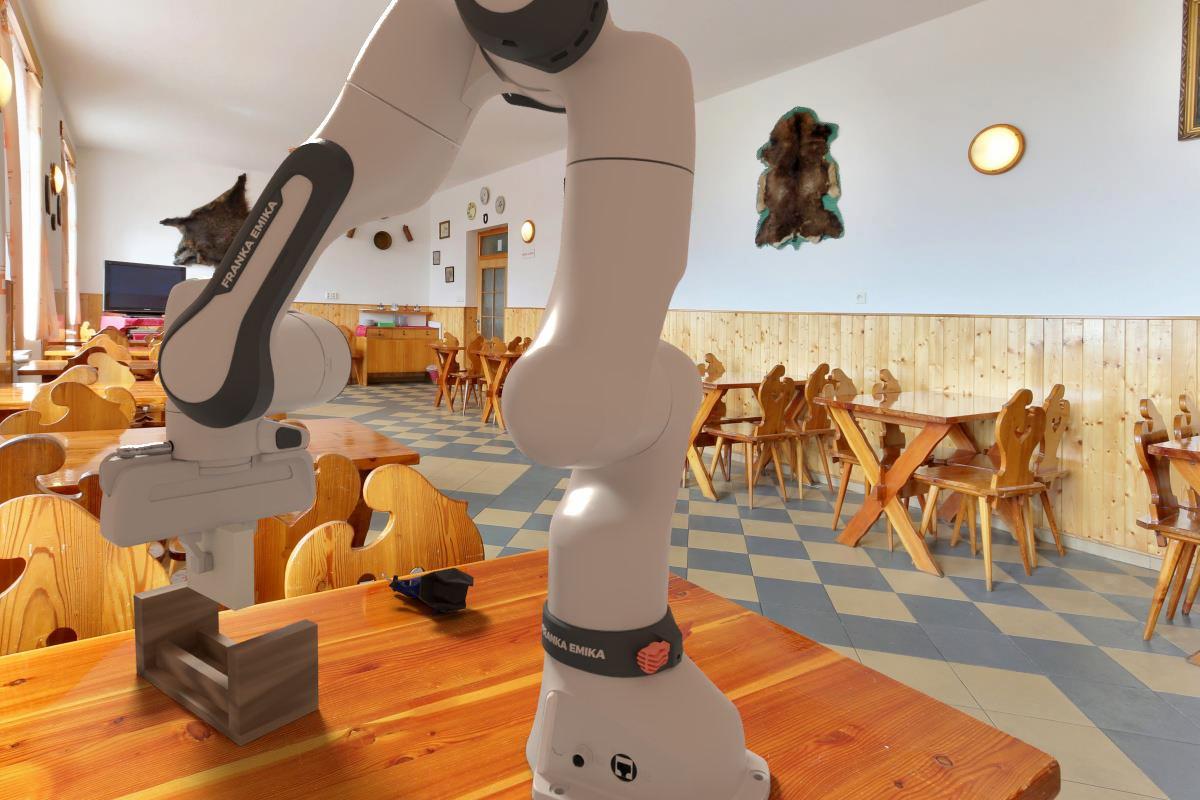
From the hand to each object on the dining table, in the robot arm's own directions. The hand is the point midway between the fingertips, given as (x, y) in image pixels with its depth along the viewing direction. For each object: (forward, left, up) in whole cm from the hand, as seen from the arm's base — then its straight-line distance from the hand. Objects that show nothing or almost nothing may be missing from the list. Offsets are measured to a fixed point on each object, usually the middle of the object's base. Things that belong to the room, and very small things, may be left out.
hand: (219, 567), depth 72 cm
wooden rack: (0, 0, -14) cm, 14 cm away
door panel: (0, 0, -3) cm, 3 cm away
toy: (+1, -29, -14) cm, 32 cm away
